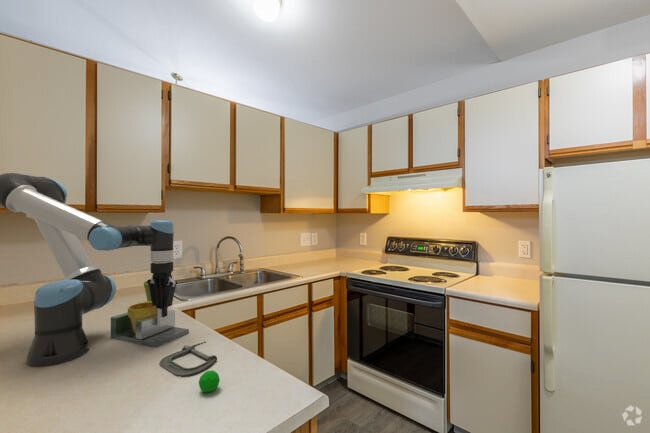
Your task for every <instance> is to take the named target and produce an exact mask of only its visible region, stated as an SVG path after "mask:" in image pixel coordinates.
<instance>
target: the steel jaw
mask: <svg viewBox="0 0 650 433" xmlns="http://www.w3.org/2000/svg"><path fill="white" fill-rule="evenodd" d="M171 327H176V310H172V309H167V324H166V325H163V326H161V327H159V326H157V314H156V315H153V316H150V317H147V318H144V319H141V320H138V321H136V338H138V339H144V338H146V337H149V336H151V335H154V334H156V333H159V332H161V331H164V330H166V329H169V328H171Z"/></svg>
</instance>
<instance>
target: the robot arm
mask: <svg viewBox="0 0 650 433" xmlns="http://www.w3.org/2000/svg"><path fill="white" fill-rule="evenodd" d="M67 198H68V192H67V189H66V187H65V186H64V185H63V184H62V183H61V182H60V181H57V180H56V179H52V178H49V177H46V176H35V175H30V174H29V175H28V174H22V173H17V172H6V173H1V174H0V207H1V208H4V209H6V210H8V211H11V212H13V213H24V214H25V217H26V218H29V219H32V220H34V221H35V223H36V225H37V227H38V229H39V231H40V233H41V234H42V236H43V238H44V241H45V243H46V244H47V246H48V248H49V250H50V252H51V253H52V256H53V257H54V259H55V261H56V263H57V266H58V267H59V268H60V271H61V272H62V274H63V276H64V278H63V280H59V281H53V282H50V283H46V284H44V285H41V286H40V287H38V288H37V289H36V291H35V294H34V300H33V304H34V309H33V310H34V337H33V340H32V342H31V345H30V347H29V349H28V352H27V355H26V364H27V365H28V366H32V367H45V366H53V365H58V364H61V363H65V362H68V361H72V360H74V359H76V358H77V359H78V358H79V357H81V356H83V355H85V354H86V353H88V351H89V350H90V342H89V339H88V337H87V334H86V332H85V330H84V328H83V315H85V314H87V313H91V312H92V311H95V310H99V309H101V308H102V307H104V306H105V305H108V304H110V302H111V301H113V299H114V298H115V294H116V292H117V285H116V282H115V280H114V279H113V278H112V277H111V276H108V275H105V274H103V272H102V271H101V268H99V267H97V266H96V267H95V266H93V264H92V263H91V261H90V259H89V257H88V255H87V253H86V251H85V249H84V247H83V245H82V243H81V241H80V240H79V238H81V239H82V240H85V241H88V242H89V244H90V245H91V247H92V248H93V249H95V250H97V251H105V252H106V251H107V252H108V251H113V250H117V249H118V250H119V249H124V248H132V247H143V246H144V247H147V246H148V247H150V255H149V256H150V262H151V263H150V273H151V274H152V275H151V276H152V277H151V278H149V279H147V280H146V281H147V282H148V284H149V288H150V294H151V300H152V305H153V306H154V305H155V306H156V308H157V326H159V327H161V326H163V325H166V324H167V311H168V308H169V307H172V305H173V302H174V296H175V291H176V286H177V285H178V281H177V280H175V281H174V279H173V275H172V272H173V271H174V261H173V260H174V233H175V230H174V222H173V221H172V220H167V219H166V220H162V219H161V220H160V219H159V220H151V221H150V225H119V226H118V225H117V226H115V225H113V224H111V223H108V222H106V221H104V220H102V219H99V218H97V217H94V216H92V215H90V214H88V213H86V212H84V211H81V210H79V209H76V208H74V207H72V206H70V205H67V204H66V203H67ZM78 237H79V238H78ZM155 301H156V302H155Z"/></svg>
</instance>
